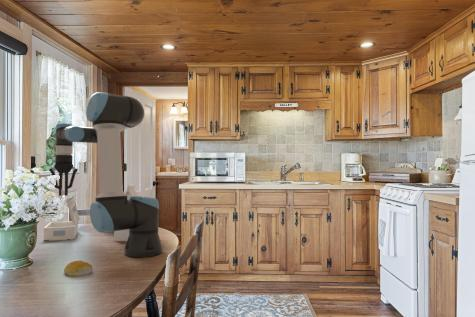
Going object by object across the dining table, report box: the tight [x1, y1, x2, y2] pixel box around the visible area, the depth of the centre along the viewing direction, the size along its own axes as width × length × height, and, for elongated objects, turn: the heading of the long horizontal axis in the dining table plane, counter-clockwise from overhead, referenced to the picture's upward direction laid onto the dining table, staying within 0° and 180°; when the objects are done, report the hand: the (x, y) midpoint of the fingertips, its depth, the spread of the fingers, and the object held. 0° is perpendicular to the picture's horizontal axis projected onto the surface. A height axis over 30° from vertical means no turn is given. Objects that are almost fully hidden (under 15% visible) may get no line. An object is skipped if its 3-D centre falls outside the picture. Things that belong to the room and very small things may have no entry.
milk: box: [113, 184, 141, 242], centre depth 174 cm, size 12×12×26 cm
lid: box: [65, 195, 80, 226], centre depth 177 cm, size 16×13×1 cm
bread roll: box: [63, 260, 93, 277], centre depth 120 cm, size 8×9×4 cm
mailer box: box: [43, 220, 79, 241], centre depth 176 cm, size 16×13×6 cm
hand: (63, 202), depth 176 cm, fingers closed
